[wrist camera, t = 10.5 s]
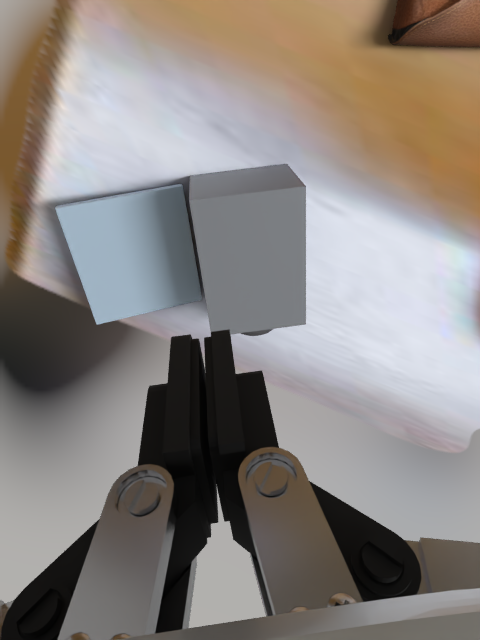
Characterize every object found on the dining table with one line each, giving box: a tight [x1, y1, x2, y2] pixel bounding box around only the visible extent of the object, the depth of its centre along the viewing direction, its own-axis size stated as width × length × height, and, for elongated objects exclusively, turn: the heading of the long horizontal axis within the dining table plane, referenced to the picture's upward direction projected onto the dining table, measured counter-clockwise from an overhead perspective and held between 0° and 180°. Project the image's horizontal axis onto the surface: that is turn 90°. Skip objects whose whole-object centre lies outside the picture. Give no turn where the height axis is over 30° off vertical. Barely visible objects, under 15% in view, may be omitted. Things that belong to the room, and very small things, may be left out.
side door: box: [55, 184, 202, 324], centre depth 39 cm, size 12×1×11 cm
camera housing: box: [189, 164, 306, 336], centre depth 38 cm, size 15×9×7 cm, turn 5°
